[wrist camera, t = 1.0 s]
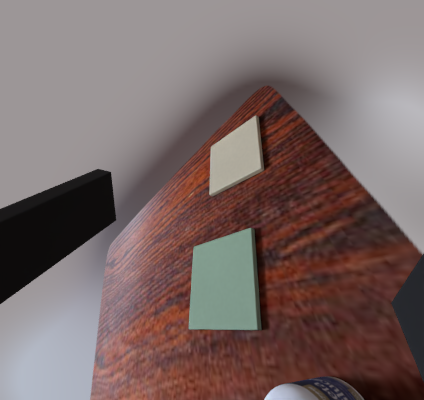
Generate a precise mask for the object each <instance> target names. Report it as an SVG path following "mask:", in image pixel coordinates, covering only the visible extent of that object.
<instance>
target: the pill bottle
mask: <svg viewBox="0 0 424 400" xmlns="http://www.w3.org/2000/svg"><path fill="white" fill-rule="evenodd" d="M265 400H364V399H363V397H362V396H361V395H360V394H359V393H358V392H357V391H356V390H355V389H354V388H353V387H352V386H351V385H349V384H348V383H346V382H344V381H343V380H340V379H338V378H335V377H318V378H313V379H307V380H302V381H297V382H292V383H287V384H283V385H279V386H277V387H275V388H274V389H272V390H271V391H270V392H269V393H268V395H267V396H266V398H265Z"/></svg>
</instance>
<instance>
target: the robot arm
mask: <svg viewBox="0 0 424 400" xmlns="http://www.w3.org/2000/svg"><path fill="white" fill-rule="evenodd" d="M114 221H116V215H115V207H114V197H113V187H112V178H111V172H108V171H104V170H100V169H97V170H94V171H92V172H89V173H87V174H85V175H82V176H80V177H77V178H75V179H72V180H70V181H67V182H65V183H63V184H60V185H58V186H55V187H53V188H50V189H48V190H45V191H43V192H41V193H38V194H36V195H33V196H31V197H28V198H26V199H24V200H21V201H19V202H16V203H14V204H11V205H9V206H7V207H4V208H2V209H0V304H1V303H3V302H4V301H5V300H6V299H8V298H9V297H11V296H12V295H14V294H15V293H16V292H18V291H19V290H20V289H22V288H23V287H25V286H26V285H27V284H29V283H30V282H31V281H33V280H34V279H36V278H37V277H38V276H40V275H41V274H43V273H44V272H45V271H47V270H48V269H49V268H51V267H52V266H54V265H55V264H56V263H58V262H59V261H60V260H62V259H63V258H64V257H66V256H67V255H69V254H70V253H71V252H73V251H74V250H76V249H77V248H78V247H80V246H81V245H83V244H84V243H85V242H87V241H88V240H89V239H91V238H92V237H93V236H95V235H96V234H98V233H99V232H100V231H102V230H103V229H104V228H106V227H107V226H109V225H110V224H111V223H113V222H114ZM392 306H393V308H394V311H395V313H396V316H397V318H398V320H399V323H400V325H401V328H402V330H403V333H404V335H405V338H406V340H407V342H408V345H409V347H410V350H411V352H412V355H413V357H414V360H415V362H416V364H417V367H418V369H419V372H420V374H421V377H422V379H423V381H424V254H423V255H422V257H421V259H420V260H419V262H418V263H417V265H416V266H415V268H414V269H413V271H412V272H411V274H410V275H409V277H408V278H407V280H406V281H405V283H404V284H403V286H402V287H401V289H400V290H399V292H398V293H397V295H396V297H395V298H394V300H393V301H392Z"/></svg>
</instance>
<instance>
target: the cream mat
mask: <svg viewBox="0 0 424 400" xmlns="http://www.w3.org/2000/svg"><path fill="white" fill-rule="evenodd" d="M262 171H264V163H263V153H262V144H261V135H260V125H259V118H258V117H257V116H254V117H253V118H251V119H250V120H249V121H247V122H246V123H244V124H243V125H241V126H240V127H239V128H237V129H236V130H234V131H233V132H232V133H230V134H229V135H227V136H226V137H224V138H223V139H222V140H220V141H219V142H217V143H216V144H214V145H213V146H212V147H211V162H210V194H209V195H211V196H215V195H217V194H218V193H220V192H222V191H224V190H226V189H228V188H230V187H232V186H234V185H236V184H238V183H240V182H242V181H244V180H246V179H248V178H250V177H252V176H254V175H256V174H258V173H260V172H262Z"/></svg>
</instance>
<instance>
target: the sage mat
mask: <svg viewBox="0 0 424 400" xmlns="http://www.w3.org/2000/svg"><path fill="white" fill-rule="evenodd" d="M189 329H206V330H262V329H261V315H260V301H259V286H258V272H257V258H256V244H255V230H254V229H253V228H249V229H246V230H243V231H240V232H237V233H234V234H231V235H228V236H225V237H222V238H219V239H216V240H213V241H210V242H207V243H204V244H201V245H198V246H195V247H194V249H193V266H192V282H191V298H190V315H189Z"/></svg>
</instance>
